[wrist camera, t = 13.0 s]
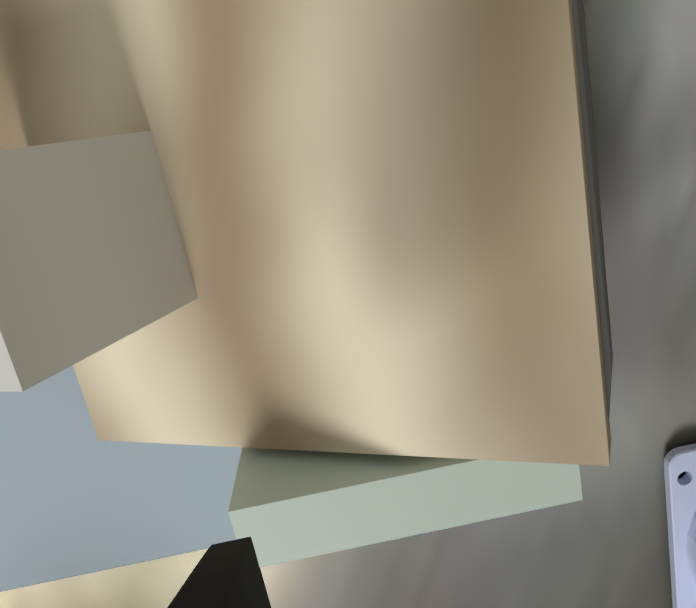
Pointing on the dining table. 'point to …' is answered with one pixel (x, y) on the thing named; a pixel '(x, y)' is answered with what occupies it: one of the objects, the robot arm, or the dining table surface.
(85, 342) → the light grey block
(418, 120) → the flap
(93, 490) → the mat
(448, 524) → the flap stand
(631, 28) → the dining table surface
